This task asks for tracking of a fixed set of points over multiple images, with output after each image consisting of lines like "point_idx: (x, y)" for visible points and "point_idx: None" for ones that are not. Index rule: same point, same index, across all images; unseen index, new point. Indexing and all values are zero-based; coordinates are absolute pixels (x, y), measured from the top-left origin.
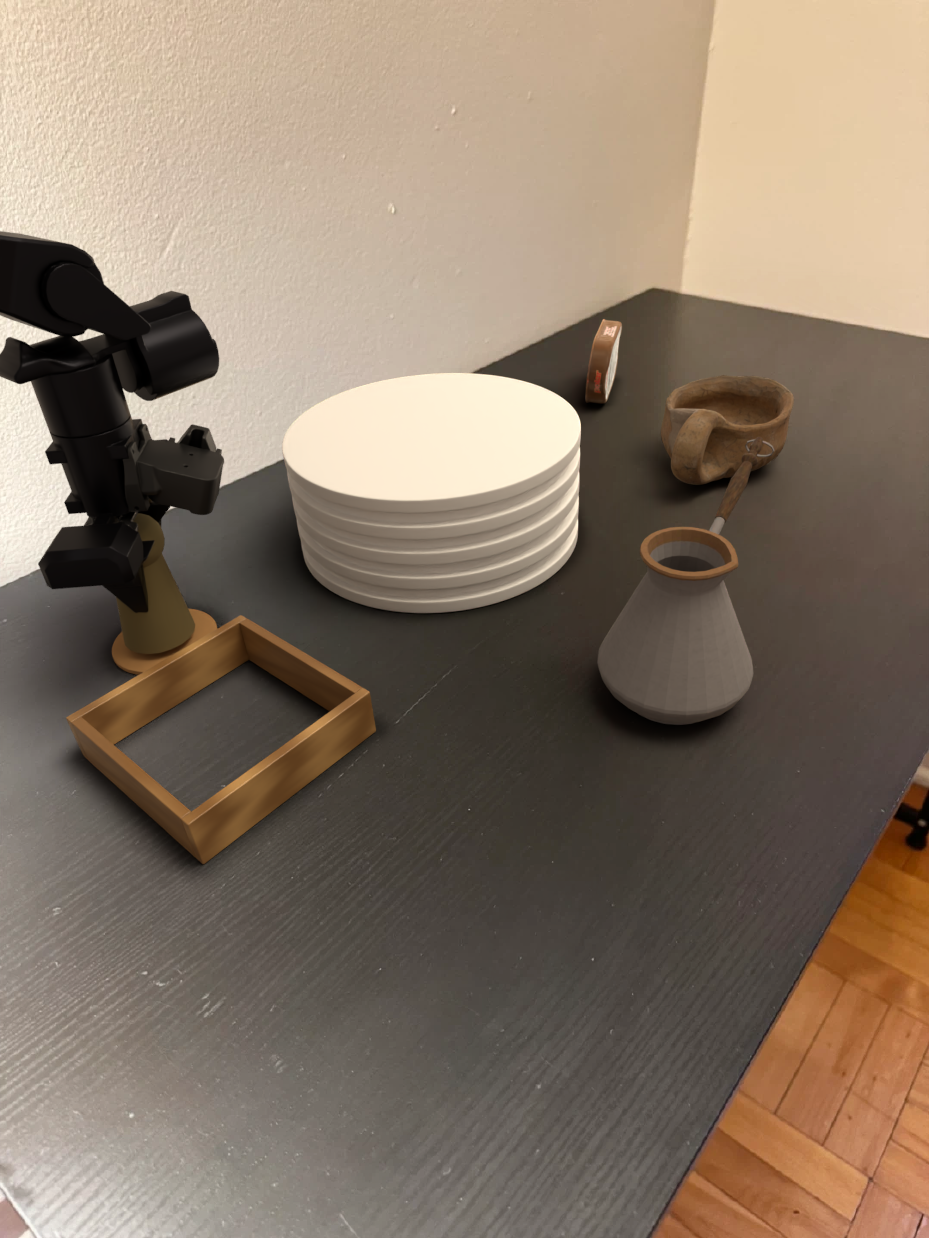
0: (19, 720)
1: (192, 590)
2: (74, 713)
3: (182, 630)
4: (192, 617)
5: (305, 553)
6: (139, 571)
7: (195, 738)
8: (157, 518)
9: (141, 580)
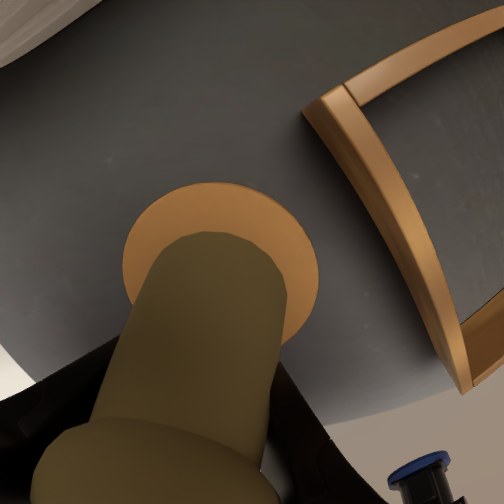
0: (336, 418)
1: (69, 243)
2: (462, 389)
3: (256, 260)
4: (155, 238)
5: (25, 38)
6: (356, 488)
7: (476, 222)
8: (5, 459)
9: (334, 453)
